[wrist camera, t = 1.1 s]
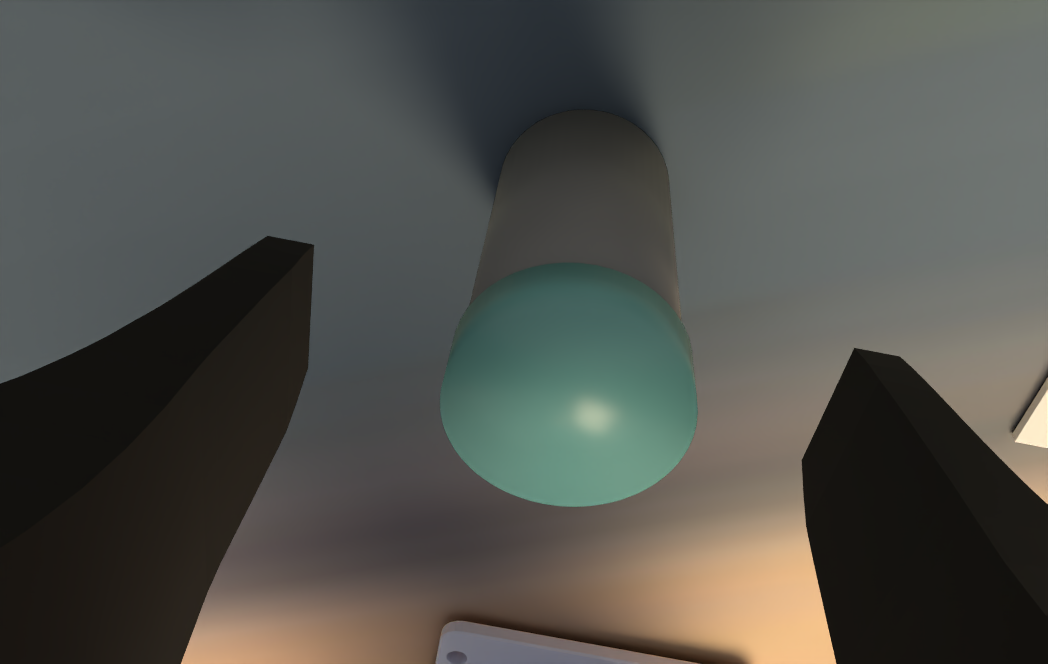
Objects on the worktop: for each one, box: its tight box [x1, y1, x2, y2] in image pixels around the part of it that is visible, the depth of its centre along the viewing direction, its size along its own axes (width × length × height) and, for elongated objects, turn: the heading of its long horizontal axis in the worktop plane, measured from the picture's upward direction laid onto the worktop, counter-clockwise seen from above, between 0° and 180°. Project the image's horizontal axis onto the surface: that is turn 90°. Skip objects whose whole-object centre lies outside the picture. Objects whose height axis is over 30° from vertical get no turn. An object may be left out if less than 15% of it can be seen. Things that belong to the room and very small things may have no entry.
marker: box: [440, 110, 698, 507], centre depth 14 cm, size 3×3×6 cm
